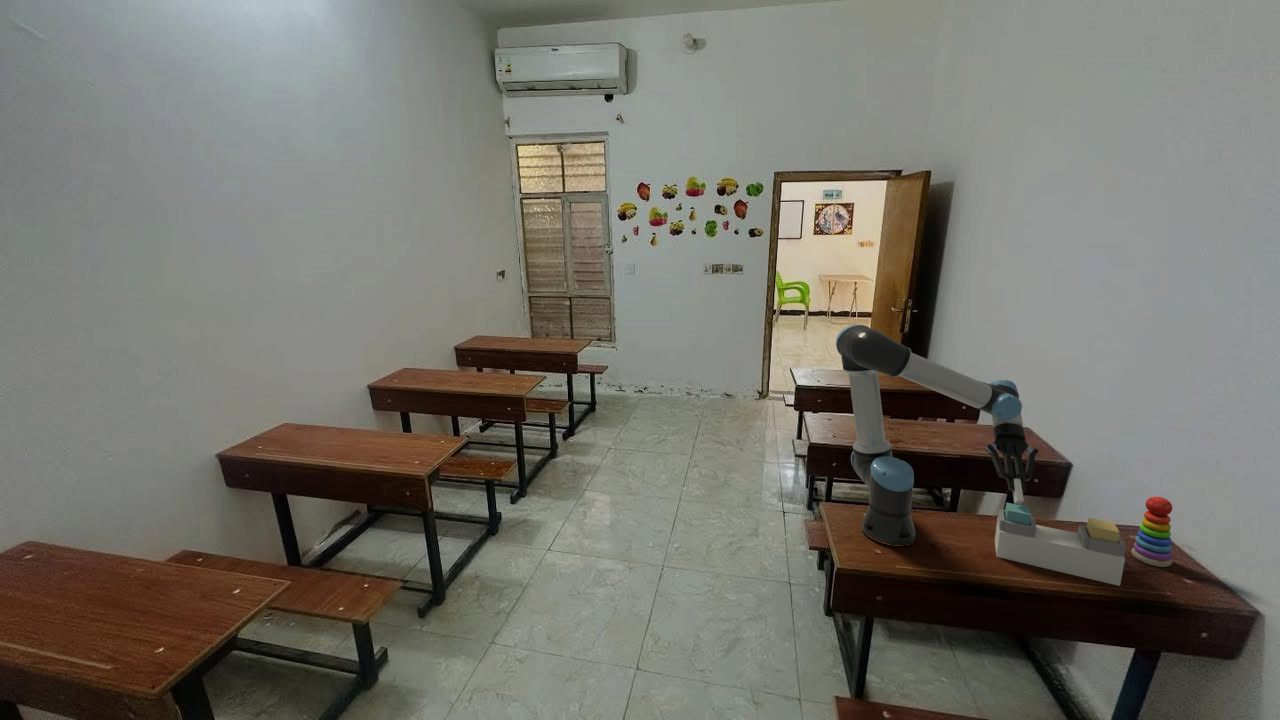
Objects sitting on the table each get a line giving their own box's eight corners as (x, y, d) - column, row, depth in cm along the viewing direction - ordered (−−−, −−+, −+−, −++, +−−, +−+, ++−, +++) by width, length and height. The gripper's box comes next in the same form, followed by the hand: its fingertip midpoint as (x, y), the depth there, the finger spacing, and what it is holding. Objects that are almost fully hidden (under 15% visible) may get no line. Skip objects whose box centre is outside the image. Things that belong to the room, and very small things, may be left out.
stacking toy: (1153, 551, 140) (1165, 491, 136) (1180, 569, 132) (1193, 505, 129) (1122, 550, 141) (1133, 491, 137) (1148, 568, 133) (1160, 505, 129)
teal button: (1006, 521, 139) (1007, 510, 139) (1004, 513, 144) (1006, 502, 143) (1029, 526, 137) (1031, 514, 136) (1027, 517, 141) (1028, 506, 140)
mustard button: (1090, 538, 130) (1092, 526, 129) (1086, 529, 134) (1088, 517, 133) (1117, 544, 127) (1119, 532, 126) (1112, 534, 131) (1114, 522, 131)
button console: (996, 556, 141) (1000, 521, 138) (994, 541, 148) (998, 507, 146) (1120, 586, 127) (1127, 547, 125) (1111, 567, 134) (1117, 530, 132)
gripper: (1029, 434, 151) (1042, 510, 140) (979, 430, 156) (988, 503, 145) (1038, 424, 146) (1052, 501, 134) (986, 420, 150) (995, 494, 139)
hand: (1019, 502), depth 139 cm, fingers closed
